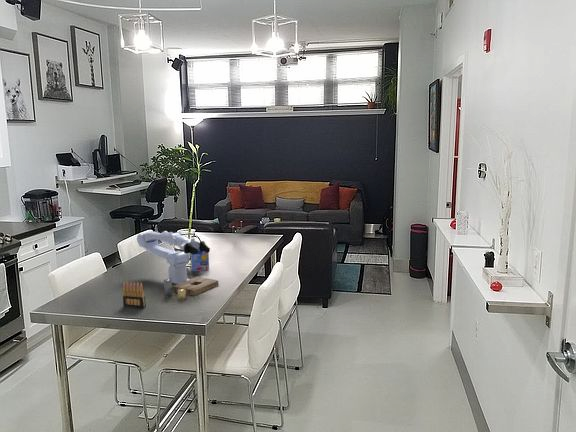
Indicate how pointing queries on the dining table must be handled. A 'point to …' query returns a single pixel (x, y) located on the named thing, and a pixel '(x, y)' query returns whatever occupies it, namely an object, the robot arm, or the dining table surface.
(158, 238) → the robot arm
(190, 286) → the hole board
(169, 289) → the tall pin
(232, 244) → the dining table surface
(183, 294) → the short pin
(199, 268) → the ink cartridge box
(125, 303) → the ammunition clip
